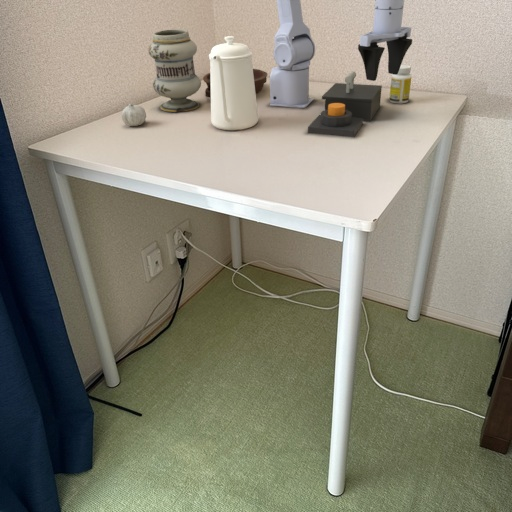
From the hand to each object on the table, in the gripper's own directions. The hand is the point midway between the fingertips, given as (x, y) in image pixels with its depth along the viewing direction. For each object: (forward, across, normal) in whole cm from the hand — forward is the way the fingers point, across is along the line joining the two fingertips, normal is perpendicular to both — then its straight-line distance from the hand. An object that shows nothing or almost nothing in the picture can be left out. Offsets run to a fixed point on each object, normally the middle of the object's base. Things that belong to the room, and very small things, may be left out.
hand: (382, 76), depth 108 cm
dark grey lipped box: (+9, 0, +7) cm, 12 cm away
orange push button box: (+9, -12, +2) cm, 16 cm away
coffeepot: (+9, -26, +21) cm, 34 cm away
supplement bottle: (+9, +14, +5) cm, 18 cm away
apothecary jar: (+9, -27, +43) cm, 52 cm away
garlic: (+9, -42, +38) cm, 58 cm away
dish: (+9, -8, +43) cm, 45 cm away
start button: (+6, -12, +2) cm, 14 cm away
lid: (+5, -1, +8) cm, 9 cm away
